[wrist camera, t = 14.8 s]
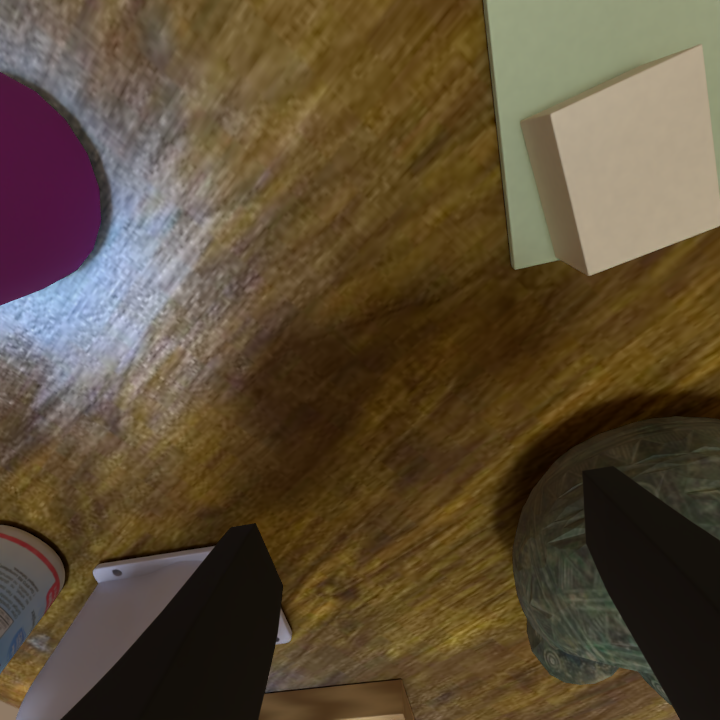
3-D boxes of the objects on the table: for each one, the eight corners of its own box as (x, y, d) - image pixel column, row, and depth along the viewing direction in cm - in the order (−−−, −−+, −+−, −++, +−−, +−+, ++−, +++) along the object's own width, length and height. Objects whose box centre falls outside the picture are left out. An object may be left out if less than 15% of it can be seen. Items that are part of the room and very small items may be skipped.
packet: (555, 257, 17) (588, 276, 14) (519, 121, 15) (549, 113, 12) (666, 213, 16) (724, 225, 13) (641, 64, 14) (703, 42, 12)
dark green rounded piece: (452, 594, 25) (493, 839, 16) (552, 359, 19) (706, 539, 10) (702, 640, 26) (876, 898, 17) (875, 426, 20) (1293, 651, 11)
